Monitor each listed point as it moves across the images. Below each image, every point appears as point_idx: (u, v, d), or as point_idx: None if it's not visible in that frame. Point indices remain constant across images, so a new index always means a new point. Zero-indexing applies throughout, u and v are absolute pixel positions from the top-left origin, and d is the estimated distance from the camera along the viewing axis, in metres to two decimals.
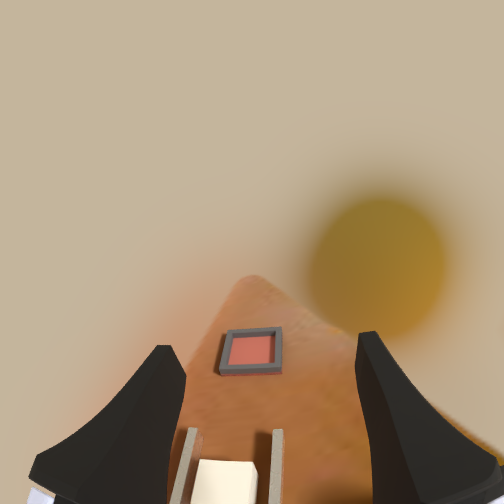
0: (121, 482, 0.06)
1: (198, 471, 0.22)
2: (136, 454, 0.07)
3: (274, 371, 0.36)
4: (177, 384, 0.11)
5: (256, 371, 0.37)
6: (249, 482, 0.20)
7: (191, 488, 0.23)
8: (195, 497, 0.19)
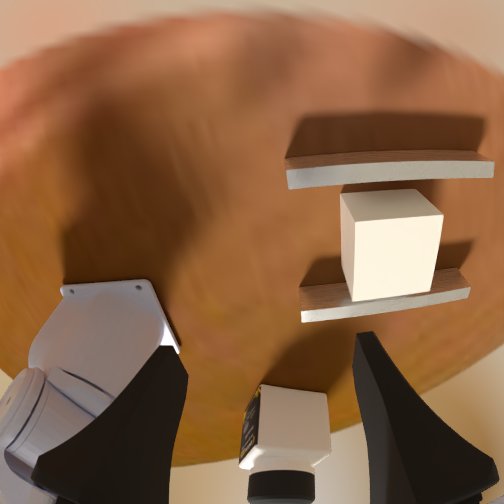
0: (124, 483, 0.06)
1: (420, 218, 0.13)
2: (139, 455, 0.07)
3: None
4: (179, 384, 0.11)
5: None
6: (397, 295, 0.16)
7: None
8: (368, 226, 0.14)
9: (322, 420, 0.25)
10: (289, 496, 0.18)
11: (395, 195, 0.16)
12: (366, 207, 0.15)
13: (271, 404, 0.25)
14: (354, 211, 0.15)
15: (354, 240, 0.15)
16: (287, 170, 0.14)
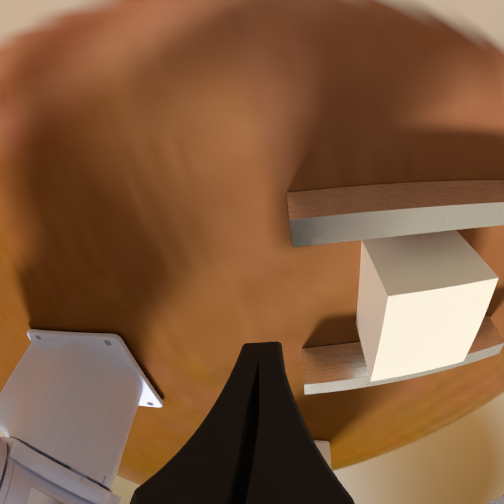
0: (241, 501, 0.05)
1: (471, 285, 0.09)
2: (247, 466, 0.07)
3: None
4: None
5: None
6: (425, 370, 0.11)
7: None
8: (405, 300, 0.09)
9: None
10: None
11: (434, 244, 0.11)
12: (400, 266, 0.10)
13: None
14: (384, 273, 0.10)
15: (383, 317, 0.10)
16: (291, 219, 0.10)
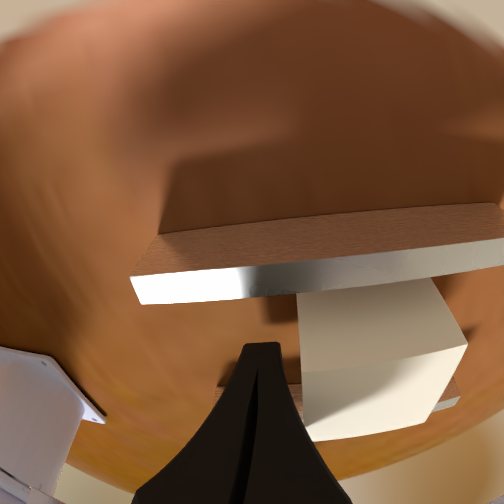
0: (243, 501, 0.05)
1: (427, 356, 0.07)
2: (249, 466, 0.07)
3: None
4: None
5: None
6: None
7: None
8: (328, 376, 0.07)
9: None
10: None
11: (390, 290, 0.09)
12: (332, 327, 0.09)
13: None
14: (308, 337, 0.08)
15: None
16: (132, 276, 0.08)
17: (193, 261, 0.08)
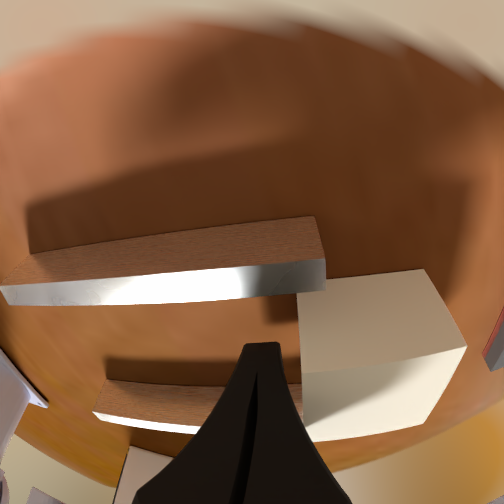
0: (243, 502, 0.05)
1: (426, 358, 0.07)
2: (249, 466, 0.07)
3: (490, 351, 0.12)
4: None
5: None
6: None
7: None
8: (328, 377, 0.07)
9: None
10: None
11: (389, 292, 0.09)
12: (332, 328, 0.09)
13: (135, 468, 0.20)
14: (308, 338, 0.08)
15: None
16: None
17: (27, 277, 0.09)
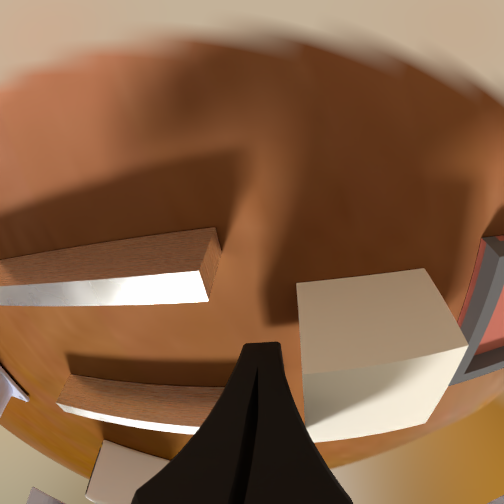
0: (242, 501, 0.05)
1: (427, 358, 0.07)
2: (248, 466, 0.07)
3: None
4: None
5: None
6: None
7: None
8: (329, 378, 0.07)
9: None
10: None
11: (390, 292, 0.09)
12: (333, 328, 0.09)
13: (107, 461, 0.21)
14: (309, 339, 0.08)
15: None
16: None
17: None
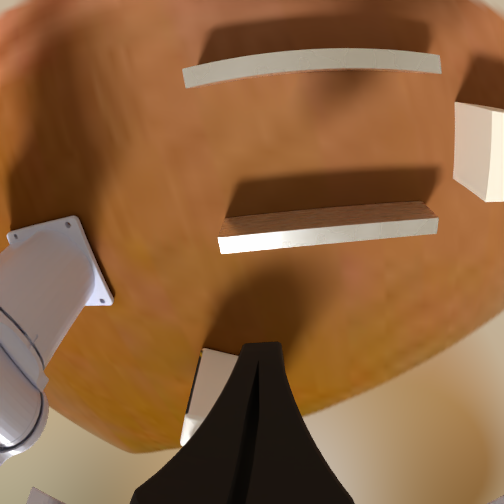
0: (241, 501, 0.05)
1: None
2: (247, 466, 0.07)
3: None
4: None
5: None
6: None
7: None
8: (500, 118, 0.10)
9: None
10: None
11: (499, 109, 0.12)
12: (488, 108, 0.11)
13: (211, 370, 0.23)
14: (482, 107, 0.11)
15: (490, 131, 0.10)
16: (183, 69, 0.12)
17: None
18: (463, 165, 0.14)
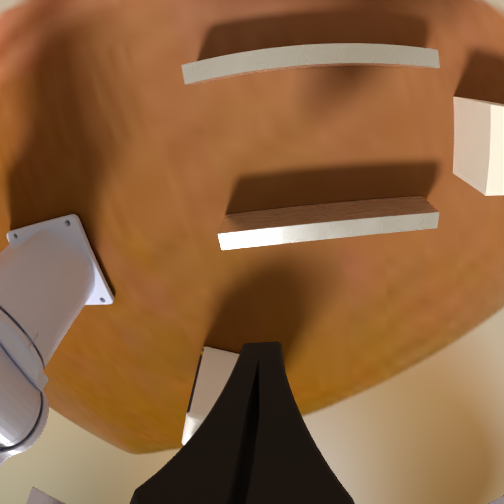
0: (241, 501, 0.06)
1: None
2: (247, 466, 0.07)
3: None
4: None
5: None
6: None
7: (303, 67, 0.13)
8: (499, 112, 0.10)
9: None
10: None
11: (498, 103, 0.12)
12: (486, 102, 0.11)
13: (213, 368, 0.23)
14: (480, 101, 0.11)
15: (489, 124, 0.10)
16: (183, 65, 0.12)
17: None
18: (463, 159, 0.14)
